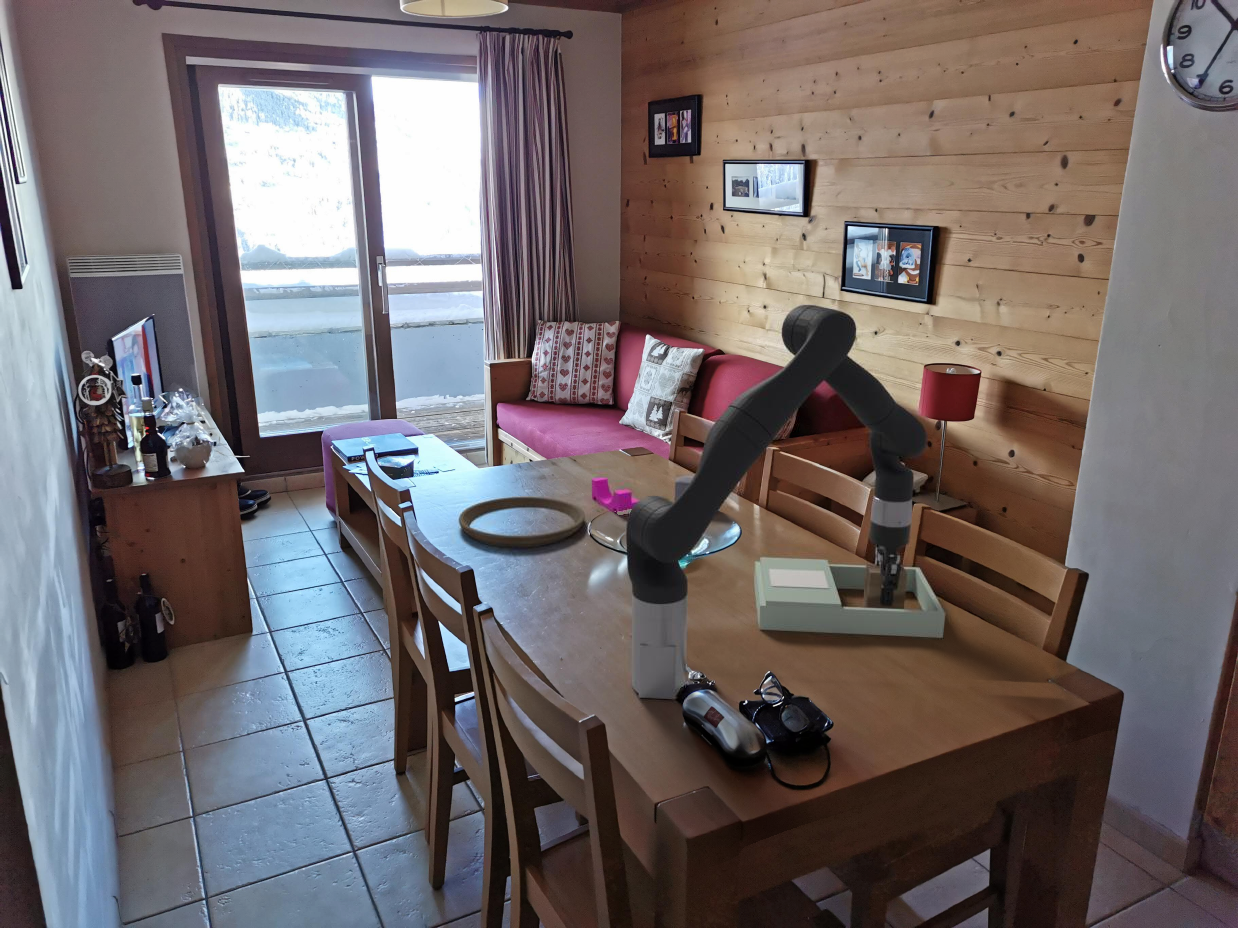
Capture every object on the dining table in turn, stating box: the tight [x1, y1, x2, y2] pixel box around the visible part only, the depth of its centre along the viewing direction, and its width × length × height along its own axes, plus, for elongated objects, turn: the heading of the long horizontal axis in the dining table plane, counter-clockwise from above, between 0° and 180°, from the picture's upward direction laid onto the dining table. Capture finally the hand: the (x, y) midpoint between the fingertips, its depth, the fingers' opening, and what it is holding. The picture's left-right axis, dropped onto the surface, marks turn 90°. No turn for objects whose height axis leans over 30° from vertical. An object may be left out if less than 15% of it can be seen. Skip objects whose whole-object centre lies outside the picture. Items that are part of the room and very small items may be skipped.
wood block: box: [862, 563, 907, 609], centre depth 177 cm, size 4×7×9 cm, turn 84°
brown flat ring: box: [458, 496, 586, 549], centre depth 222 cm, size 31×31×5 cm
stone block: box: [673, 475, 694, 502], centre depth 233 cm, size 12×5×10 cm, turn 62°
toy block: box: [591, 476, 639, 513], centre depth 236 cm, size 15×6×8 cm, turn 29°
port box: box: [753, 556, 946, 639], centre depth 179 cm, size 22×34×6 cm, turn 84°
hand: (883, 599), depth 178 cm, fingers closed on wood block, 4 cm apart
